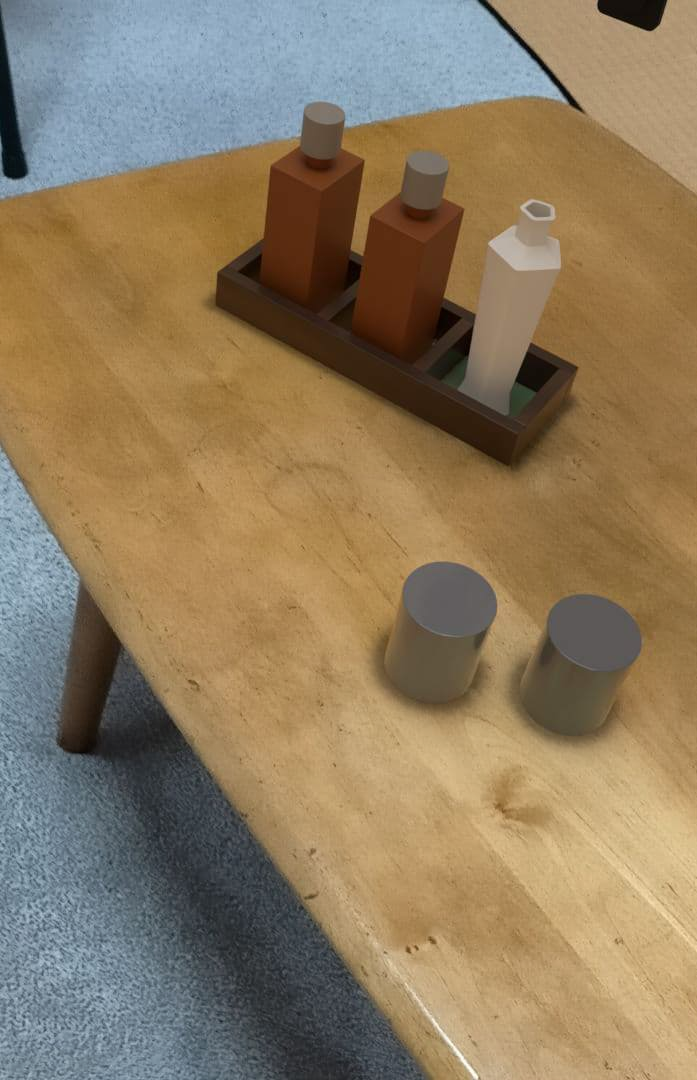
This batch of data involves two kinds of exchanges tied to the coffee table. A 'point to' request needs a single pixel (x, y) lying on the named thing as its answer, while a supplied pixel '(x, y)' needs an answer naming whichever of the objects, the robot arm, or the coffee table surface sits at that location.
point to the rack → (394, 377)
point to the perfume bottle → (511, 304)
